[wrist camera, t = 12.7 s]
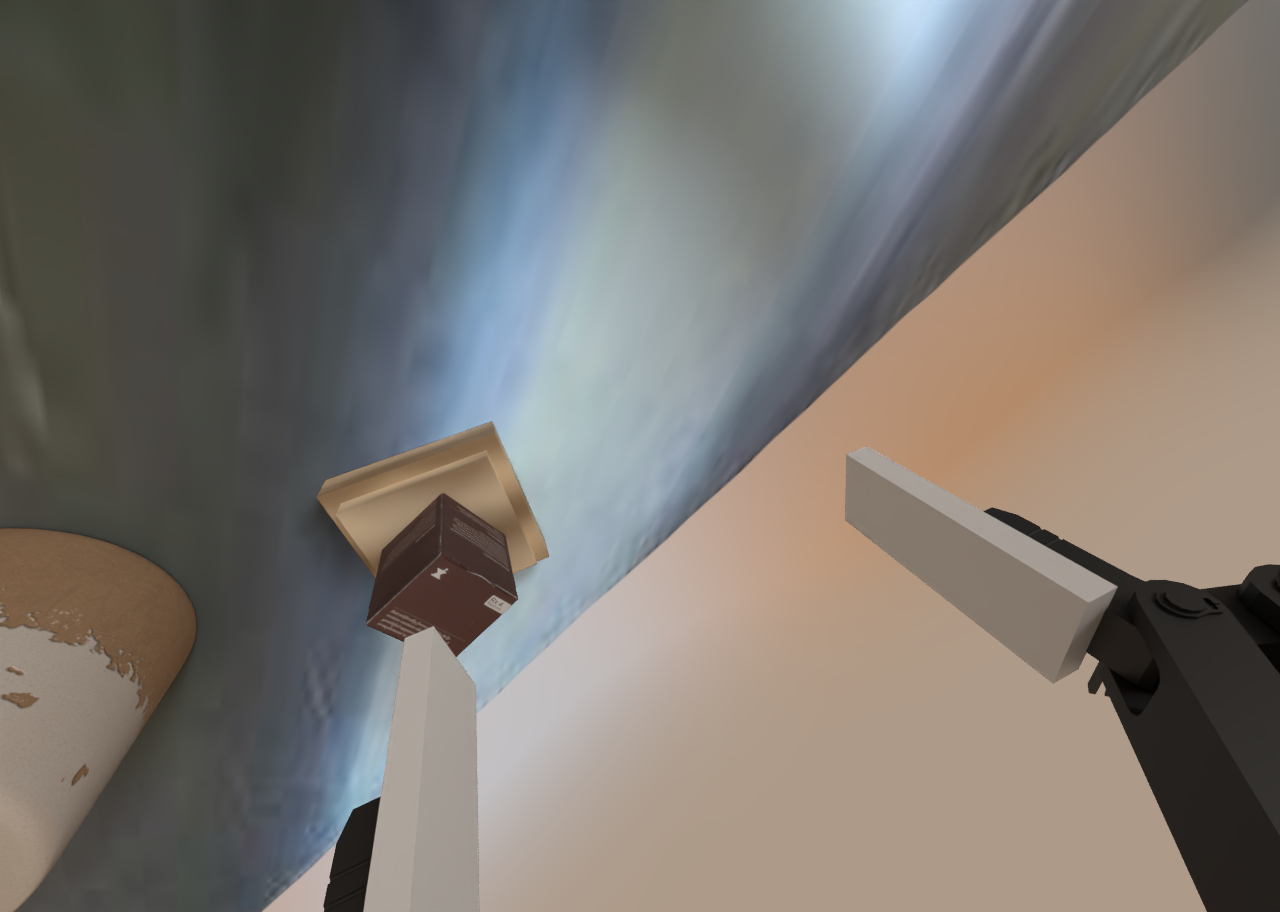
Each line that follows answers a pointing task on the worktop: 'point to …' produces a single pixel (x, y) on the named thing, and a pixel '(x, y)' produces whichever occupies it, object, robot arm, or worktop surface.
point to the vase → (74, 684)
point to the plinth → (423, 464)
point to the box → (443, 577)
